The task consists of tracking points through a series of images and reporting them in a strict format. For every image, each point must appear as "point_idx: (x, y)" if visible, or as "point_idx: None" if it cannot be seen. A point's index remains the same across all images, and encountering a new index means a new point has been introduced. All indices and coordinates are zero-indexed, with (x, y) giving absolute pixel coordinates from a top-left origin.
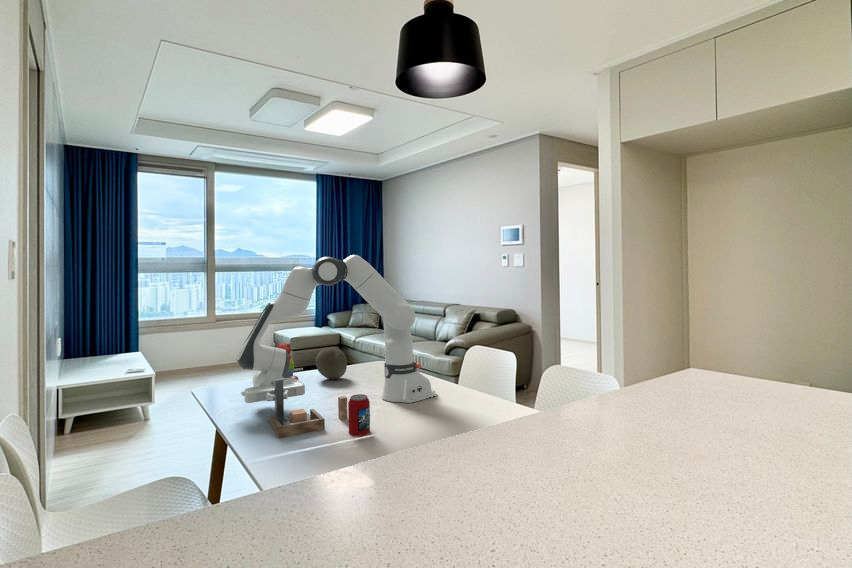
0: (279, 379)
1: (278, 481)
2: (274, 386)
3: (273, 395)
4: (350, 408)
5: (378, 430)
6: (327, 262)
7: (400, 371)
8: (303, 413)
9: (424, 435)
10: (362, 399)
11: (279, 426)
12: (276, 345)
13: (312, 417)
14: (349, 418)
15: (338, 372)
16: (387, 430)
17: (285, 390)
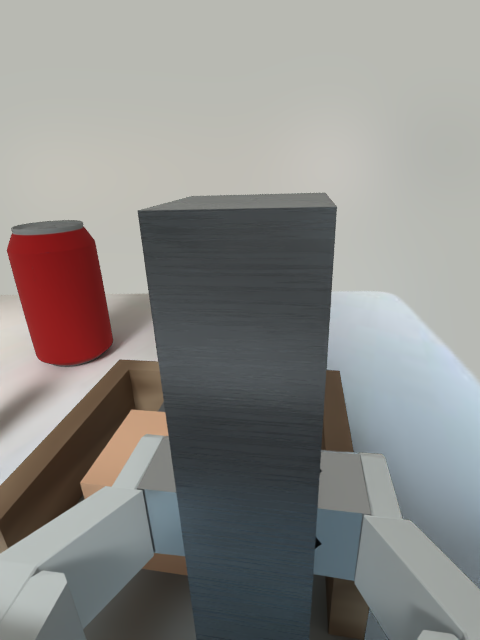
0: (235, 199)
1: (367, 294)
2: (324, 384)
3: (347, 460)
4: (97, 257)
5: (19, 349)
6: None
7: None
8: (153, 414)
9: (9, 306)
10: (66, 223)
11: (335, 374)
12: None
13: (56, 502)
14: (101, 297)
15: None
16: (8, 341)
17: (18, 599)
